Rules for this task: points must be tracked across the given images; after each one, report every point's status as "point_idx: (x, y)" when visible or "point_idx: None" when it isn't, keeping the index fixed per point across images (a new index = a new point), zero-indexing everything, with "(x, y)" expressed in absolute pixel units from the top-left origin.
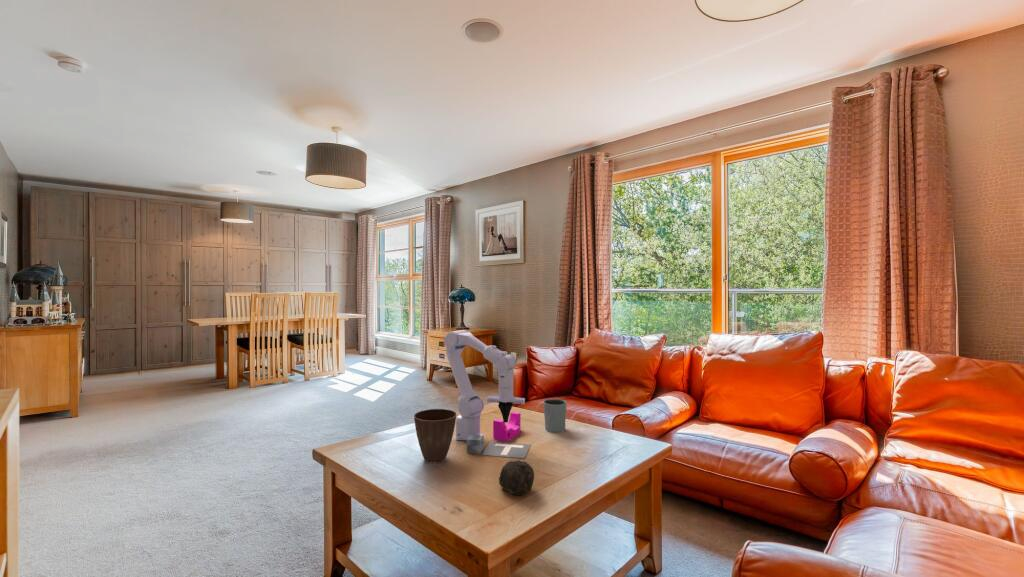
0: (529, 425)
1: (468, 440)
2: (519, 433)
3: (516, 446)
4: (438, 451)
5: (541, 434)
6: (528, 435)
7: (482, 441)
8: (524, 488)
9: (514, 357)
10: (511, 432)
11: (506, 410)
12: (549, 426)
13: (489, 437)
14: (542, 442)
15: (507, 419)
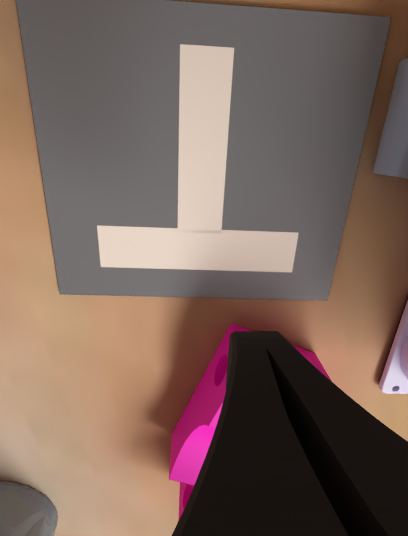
0: (148, 532)
1: None
2: (172, 435)
3: (144, 242)
4: None
5: (52, 448)
6: (119, 425)
7: None
8: None
9: None
10: (208, 398)
11: (294, 512)
12: (5, 516)
13: (338, 364)
14: (4, 345)
15: (230, 367)
